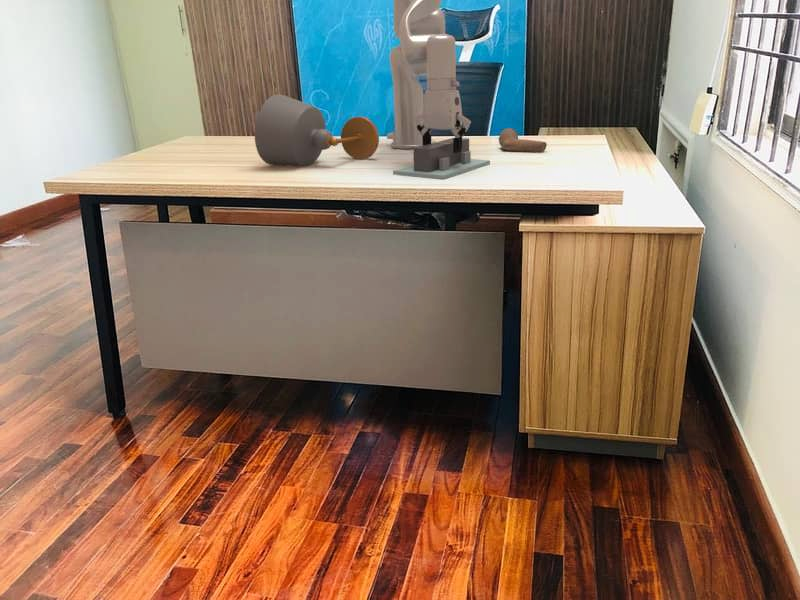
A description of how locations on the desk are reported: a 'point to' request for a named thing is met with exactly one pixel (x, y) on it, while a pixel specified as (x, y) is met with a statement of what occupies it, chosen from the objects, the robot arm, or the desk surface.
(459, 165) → the base
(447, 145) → the dark gray block
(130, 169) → the desk surface
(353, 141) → the light fixture
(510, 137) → the pipe
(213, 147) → the desk surface
